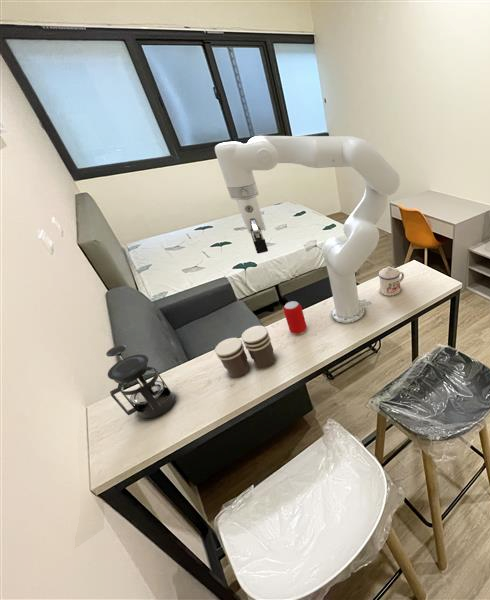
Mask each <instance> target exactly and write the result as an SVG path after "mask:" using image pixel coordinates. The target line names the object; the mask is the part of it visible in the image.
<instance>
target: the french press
mask: <svg viewBox="0 0 490 600" xmlns="http://www.w3.org/2000/svg"><path fill="white" fill-rule="evenodd" d="M126 348H127V346H126V345H124V344H119V345H116V346H113V347H111V348H110V349H109V350H107V351H106V353H105V355H106V357H109V358H111V357H116V356H117V357H119V358H120V360H119V361H117V362H116V363H115V364H113V365H112V366H111V367H110V368H109V369H108V371H107V378H108V379H110V380H113V381H114V382H115V383H117V387H116V388H114V389H112V390H110V391H109V394H110V396H111V397H112V399H113V400H114V401H115V402H116V404H117V405H118V406H119V407H120V408H121V409H122V410H123V411H124V413H125V414H126V415H127V416H131V415H132V414H135V413H136V412H137V414H138V416H139V418H140V419H142V420H144V421H152V420H155V419H158V418H161V417H162V416H164V415H166V414H167V413H168V412H169V411H171V410H172V408H173V407H174V406H175V404H176V402H177V397H176V395H175V394H174V393H173V392H172V391H171V389H170V388H169V386H168V385H167V383H166V382H165V381H164V380H163V378H162V376H161V374H159V372H158V371H157V369H156V368H155V367H152V366H148V362H149V358H148V356H147V355H146V354H134V355H130V356H128V357H125V358H124V357H123V356H122V355H123V354H122V353H123V352H124V351H126ZM147 371H149V372H150V371H152V372H155V374H154V376H153V377H152V378H151V379H150V380H149V381H148V382H147V380H146V379H145V377H144V375H145V374H146V372H147ZM158 379H160V380H158ZM135 381H136V382H137V384H138V385H139V387H138V388H136V389H132V390H126V391H125V390H122V388H123V386H124V385H125V384H127V383H131V382H135ZM118 393H121V394H122V395H123V397H124V398H125V399H126V401H128V403H129V404H130V405H131V406H132V408H130V409H127V408H126V407H125V406H124V404H123V403H122V402H121V401H120V399H118V398H117V396H116V394H118ZM128 396H129V397H128ZM162 397H167V398H166V400H164V401H163V403H162V404H160V403H159V402H158V400H157V399H159V398H162ZM148 405H149V406H150V407H151V408H152V409H150V410H147V411H146V410H145V409H146V408H147V406H148Z"/></svg>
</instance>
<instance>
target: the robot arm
mask: <svg viewBox="0 0 490 600" xmlns="http://www.w3.org/2000/svg"><path fill="white" fill-rule="evenodd" d="M214 152H215V155H216V159H217V162H218V165H219V168H220V172H221V174H222V176H223V179H224V182H225V185H226V188H227V191H228V194H229V197H230V199H231V200H234V201H236V203H237V207H238V210H239V212H240V215H241V218H242V221H243V223H244V225H245V228H246V229H247V232H248V233H249V234H250V235H251V238H252V242H253V245H254V249H255V252H256V254H259V255H260V254H262V253H263V254H264V253H267V252H268V251H269V248H268V245H267V241H266V238H264V235H263V231H266V230H267V228H266V225H265V222H264V218H263V215H262V211H261V209H260V206H259V205H260V204H259V201H258V199H257V196H259V195H260V194H259V190H258V186H257V183H256V180H255V176H254V173H253V171H270V170H273V169H275V168H276V166H278V164H294V165H300V166H304V167H307V168H313V169H325V168H326V169H327V168H346V167H347V168H348V167H349V168H350V167H351V168H353V169H354V170H355V171H356V172H357V173H358V174H359V175H360V176H361V177H362V178H363V181H364V187H365V188H364V189H365V190H364V194H363V197H362V198H361V200H360V202H358V205H357V206H356V207H355V209H354V210H353V211H352V212H351V214H350V215H349V216H348V217H347V219H346V220H345V221H344V223H343V227H342V231H343V234H344V235H345V237H346V238H347V241H346V240H345V239H344V238H341V237H335V236H334V237H331V238H329V239H328V240H326V242H325V243H324V244H323V248H322V256H323V259H324V264H325V265H326V271H327V274H328V278H329V284H330V289H331V294H332V298H333V299H332V300H333V304H334V307H333V310H332V311H331V312H332V318H333V320H335V321H336V322H339V323H343V324H345V323H346V324H349V323H353V322H356V321H358V320H359V319H361V318H362V317H363V316H364V314H365V307H368V306H372V301H371V300H370V299H369V300H367V299H366V298H362V299H359V298H360V297H359V292H358V286H357V278H356V272H358V270H359V269H361V268H362V266H363V265H364V263H366V261H367V259H368V258H369V257H370V256H371V254H372V253H373V252H374V250H376V248H377V246H378V244H379V241H380V232H379V228H378V227H377V226H376V224H377V223H378V221H379V220H380V219H381V217H382V216H383V214H384V212H385V211H386V208H387V205H388V201H389V196H391V195H394V194H395V193H396V192H397V191H398V190H399V188H400V184H401V178H400V175H399V173H398V171H397V170H396V169H395V167H394V166H393V165H392V164H391V163H390V162H389V161H388V160H387V159H386V158H385V157H384V156H383V155H382V154H381V153H380V152H379V151H378V149H376V148H375V146H374V145H372V143H370V142H369V141H368V140H366V139H363V138H360V137H357V136H352V135H337V136H336V135H320V136H319V135H300V136H297V135H296V136H295V135H294V136H292V135H257V136H253V137H251V138H250V139H249V140H248V141H247V143H242V142H240V141H226V142H221V143H218V144H216V145H215V146H214Z"/></svg>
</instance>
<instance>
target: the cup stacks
mask: <svg viewBox="0 0 490 600" xmlns="http://www.w3.org/2000/svg"><path fill="white" fill-rule="evenodd" d="M271 340H272V339H271V336H270V333H269V331H268V328H267V327H266V326H264V325H253V326H251V327H249V328H247V329H246V330H244V331H243V333H242V334H241V339H240V338H239V337H231V338H230V337H229V338H225V339H223V340H222V341H220V342H219V343H218V344H216V346H215V347H214V353H215V354H216V356H217V358H218V359H219V360H220V361H221V364H222V365H223V368H224V369H226V371H227V373H228V374H229V376H230V377H231V378H233V379H235V378H241V377H244V376H245V375H246V374H248V373H249V372H250V369H251V365H250V363H249V361H248V356H247V353H246V350H247V351H248V354H249V356H250V358H251V359H252V360H253V362H254V365H255V366H256V368H258V369H267V368H270V367H271V366H272V365H274V363H275V362H276V356H275V353H274V347H273V345H272V342H271ZM245 349H246V350H245Z"/></svg>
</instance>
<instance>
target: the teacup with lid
mask: <svg viewBox="0 0 490 600" xmlns="http://www.w3.org/2000/svg"><path fill="white" fill-rule="evenodd" d="M400 275H401V277H400ZM378 277H379V286H380V287H379V289H380V293H381V294H382V295H383V296H389V297H391V296H392V297H393V296H396V295H397V294H399V293H400V292H401V283H402V282H403V281H404V278H405V273H404V272H403V271H400V270H399V269H398V268H396V267H391V266H386V267H385V268H382V269H380V270H379V271H378Z"/></svg>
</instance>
